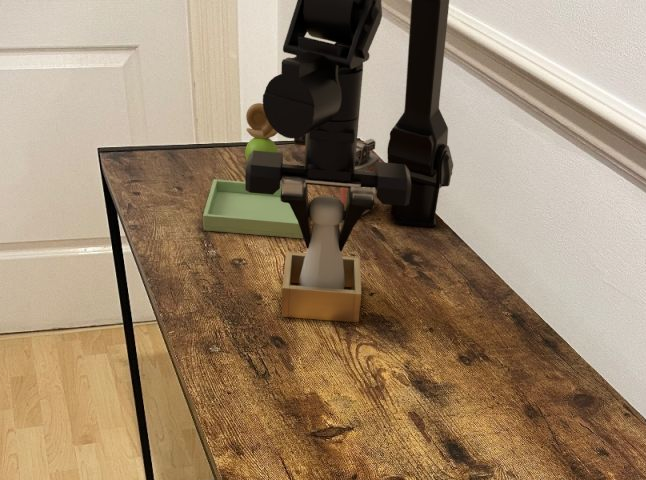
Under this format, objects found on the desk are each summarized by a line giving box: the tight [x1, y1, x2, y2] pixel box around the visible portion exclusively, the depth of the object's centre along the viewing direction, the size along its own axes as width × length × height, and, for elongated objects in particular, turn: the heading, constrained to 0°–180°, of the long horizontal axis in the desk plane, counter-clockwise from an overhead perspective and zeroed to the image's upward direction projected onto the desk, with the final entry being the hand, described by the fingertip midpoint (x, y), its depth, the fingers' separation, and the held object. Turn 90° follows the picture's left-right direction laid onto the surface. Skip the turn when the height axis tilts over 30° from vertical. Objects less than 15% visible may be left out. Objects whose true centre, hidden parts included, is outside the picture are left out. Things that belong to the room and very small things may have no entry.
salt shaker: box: [298, 195, 346, 290], centre depth 96 cm, size 6×6×13 cm
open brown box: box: [281, 251, 362, 323], centre depth 99 cm, size 10×10×4 cm
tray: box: [202, 178, 304, 240], centre depth 116 cm, size 14×13×2 cm
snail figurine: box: [244, 102, 279, 162], centre depth 125 cm, size 5×6×12 cm
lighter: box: [339, 138, 380, 216], centre depth 118 cm, size 8×3×10 cm, turn 148°
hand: (324, 248), depth 95 cm, fingers closed on salt shaker, 3 cm apart
